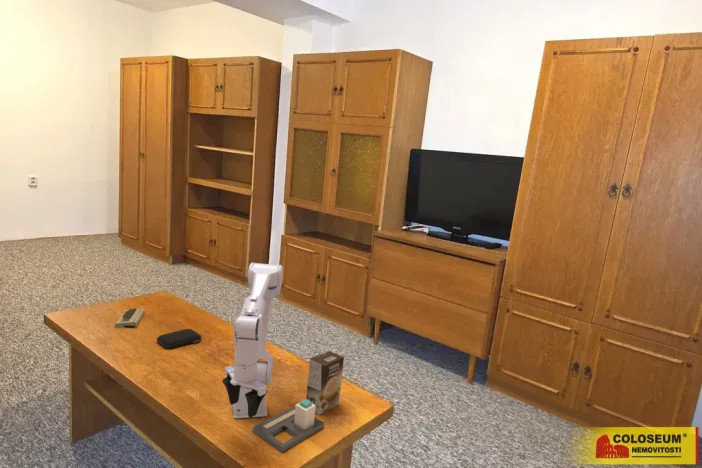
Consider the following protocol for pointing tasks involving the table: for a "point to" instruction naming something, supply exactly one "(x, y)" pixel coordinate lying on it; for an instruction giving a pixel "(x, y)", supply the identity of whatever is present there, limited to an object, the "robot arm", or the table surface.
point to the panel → (285, 423)
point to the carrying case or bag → (178, 338)
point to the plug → (304, 414)
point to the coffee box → (324, 381)
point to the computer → (130, 318)
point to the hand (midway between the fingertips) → (243, 409)
